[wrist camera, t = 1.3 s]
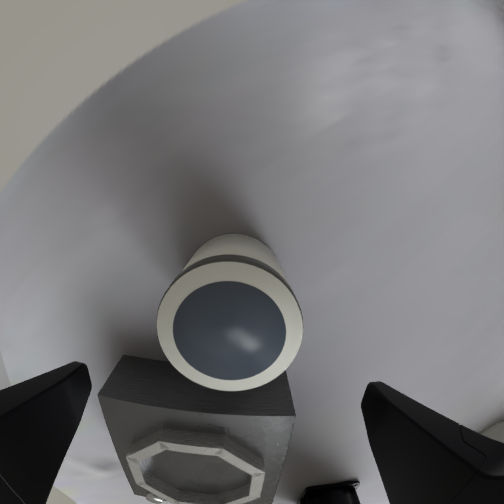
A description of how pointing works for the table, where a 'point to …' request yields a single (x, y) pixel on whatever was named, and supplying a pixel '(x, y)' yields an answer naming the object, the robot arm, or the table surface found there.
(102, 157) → the table surface
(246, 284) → the lens
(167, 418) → the octagonal rim base plate
